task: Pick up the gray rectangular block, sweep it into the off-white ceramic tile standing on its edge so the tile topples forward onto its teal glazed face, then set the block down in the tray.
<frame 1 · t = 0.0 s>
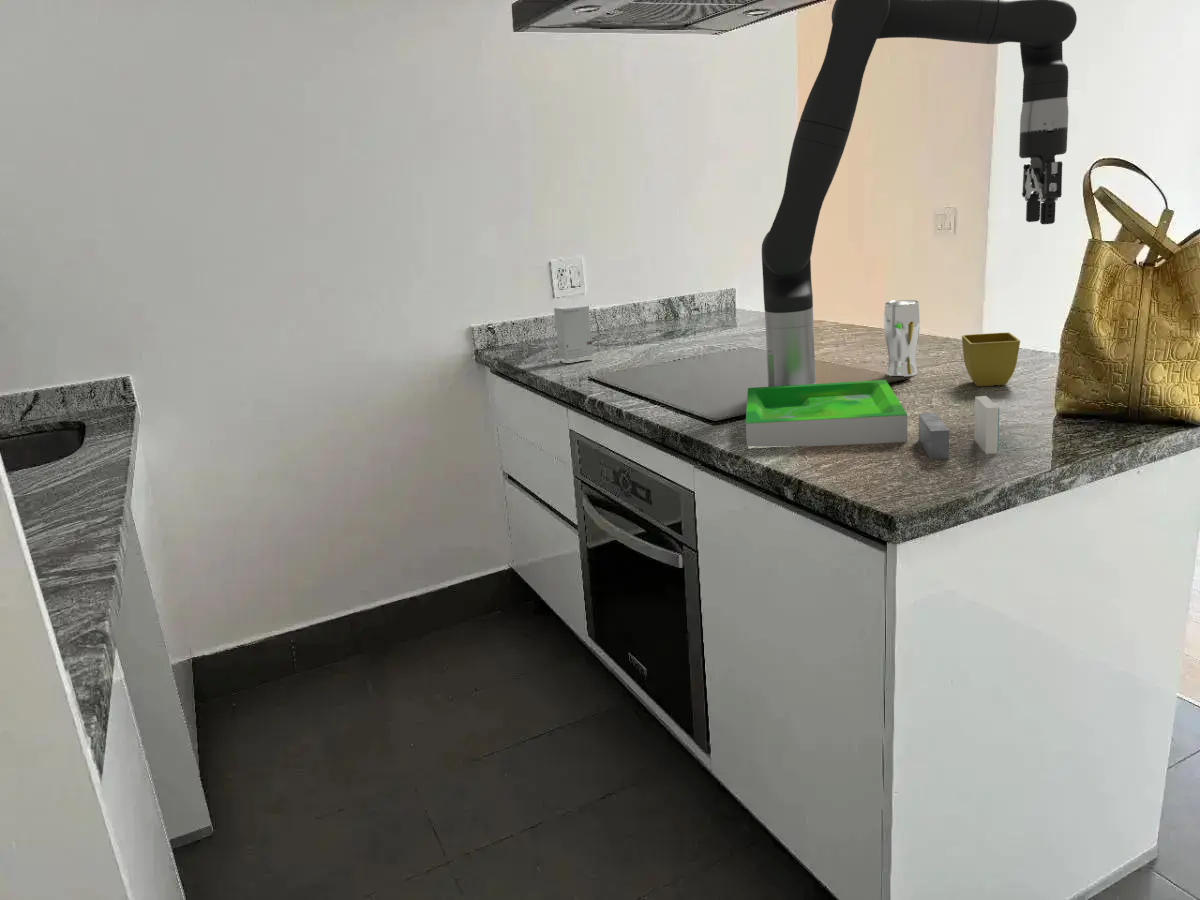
hand: (1039, 222, 157), 29 cm above the worktop, tool pointing down, fingers open, 8 cm apart
tile: (985, 446, 131), on the worktop
beer glass: (902, 375, 181), on the worktop
tray: (820, 428, 151), on the worktop
skincare box: (576, 361, 235), on the worktop
gray rectangular block: (933, 450, 132), on the worktop
flower pot: (989, 384, 167), on the worktop
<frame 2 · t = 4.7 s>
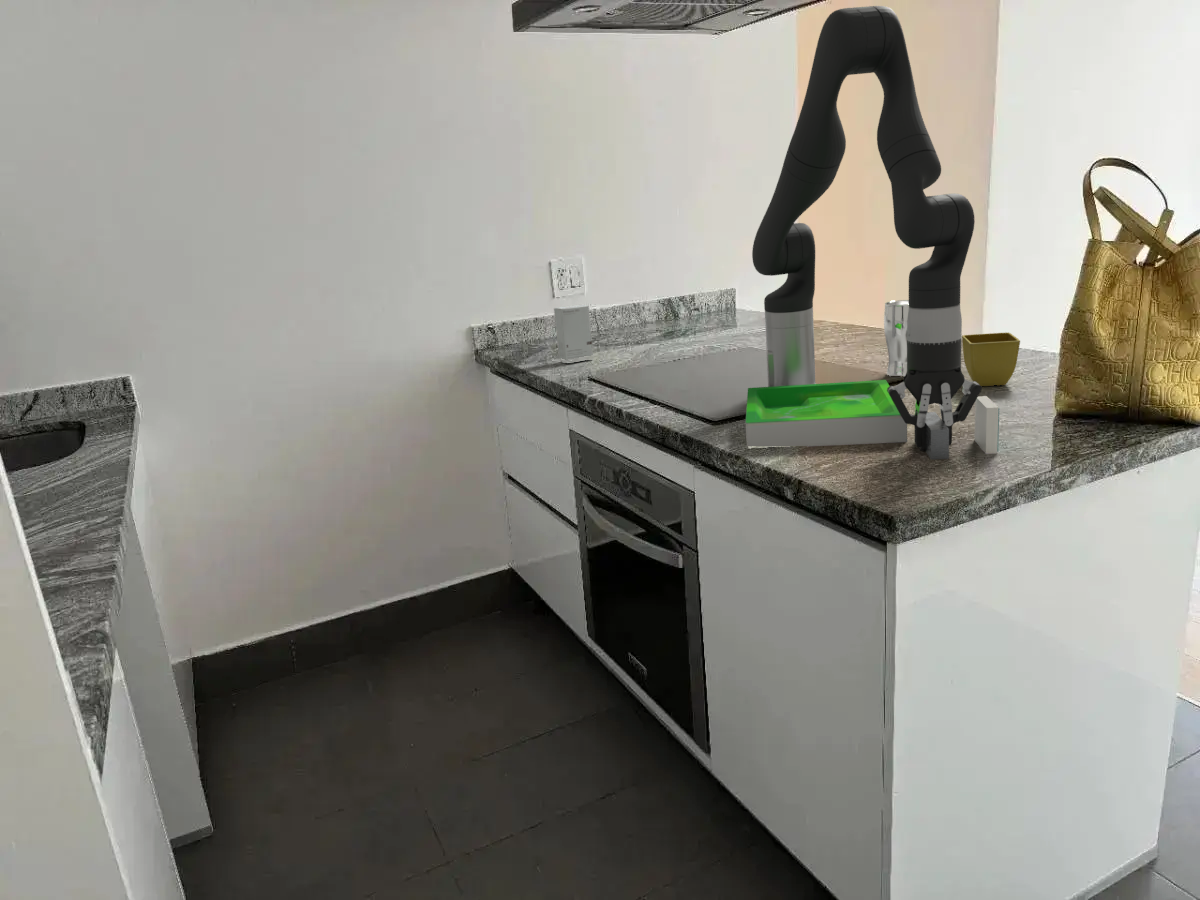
hand: (933, 448, 132), 0 cm above the worktop, tool pointing down, fingers closed on gray rectangular block, 2 cm apart
gray rectangular block: (933, 449, 132), on the worktop, touching gripper
everything else where it was.
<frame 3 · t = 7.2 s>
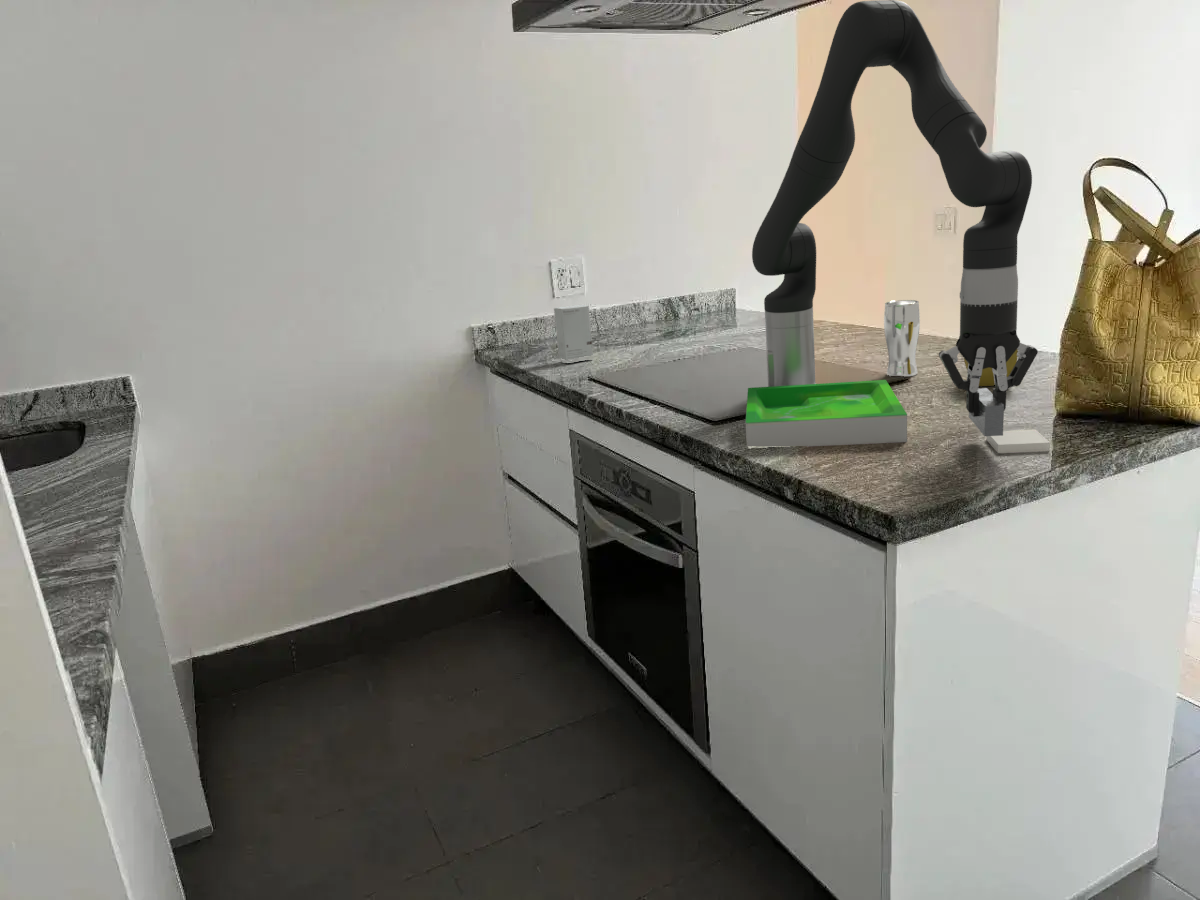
hand: (985, 414, 129), 5 cm above the worktop, tool pointing down, fingers closed on gray rectangular block, 2 cm apart
tile: (992, 443, 130), on the worktop, tilted 90°
gray rectangular block: (985, 425, 130), point 3 cm above the worktop, touching gripper
everything else where it was.
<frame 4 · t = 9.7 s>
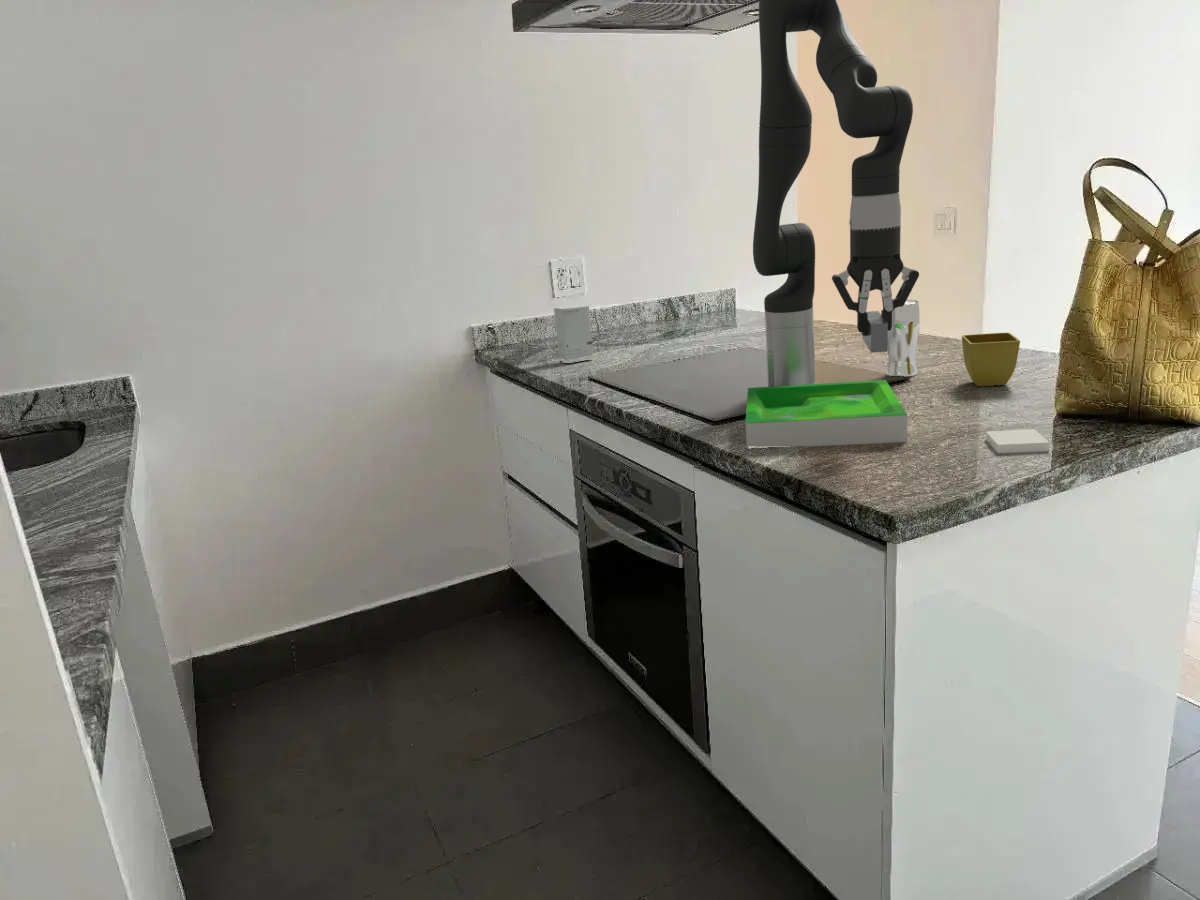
hand: (874, 333, 140), 16 cm above the worktop, tool pointing down, fingers closed on gray rectangular block, 2 cm apart
gray rectangular block: (874, 344, 141), point 14 cm above the worktop, touching gripper
everything else where it was.
when the fingers open (6 cm above the worktop, at t = 11.6 s): gray rectangular block stays where it is, resting on tray.
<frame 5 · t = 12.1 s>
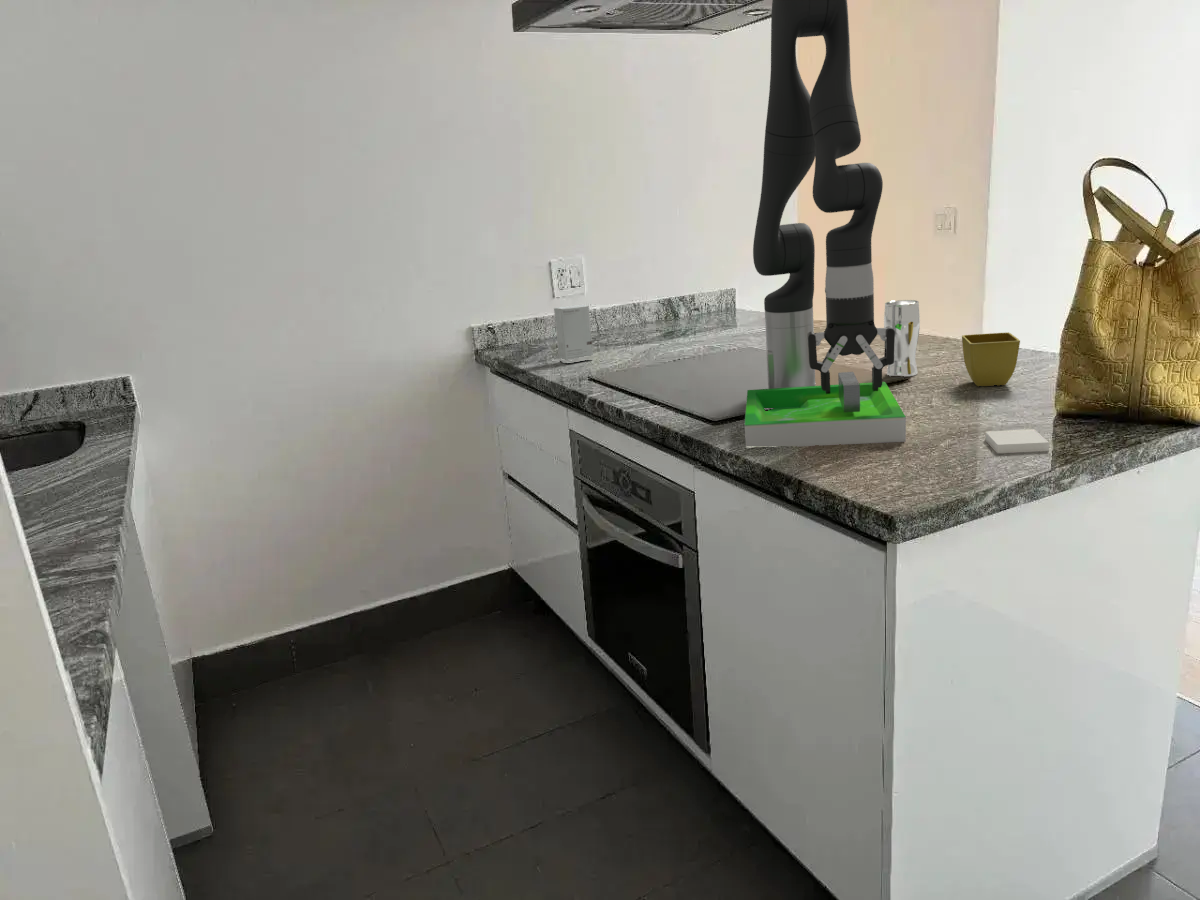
hand: (851, 391, 146), 6 cm above the worktop, tool pointing down, fingers open, 7 cm apart
tray: (820, 430, 152), on the worktop, touching gray rectangular block
gray rectangular block: (849, 404, 147), point 4 cm above the worktop, touching tray
everything else where it was.
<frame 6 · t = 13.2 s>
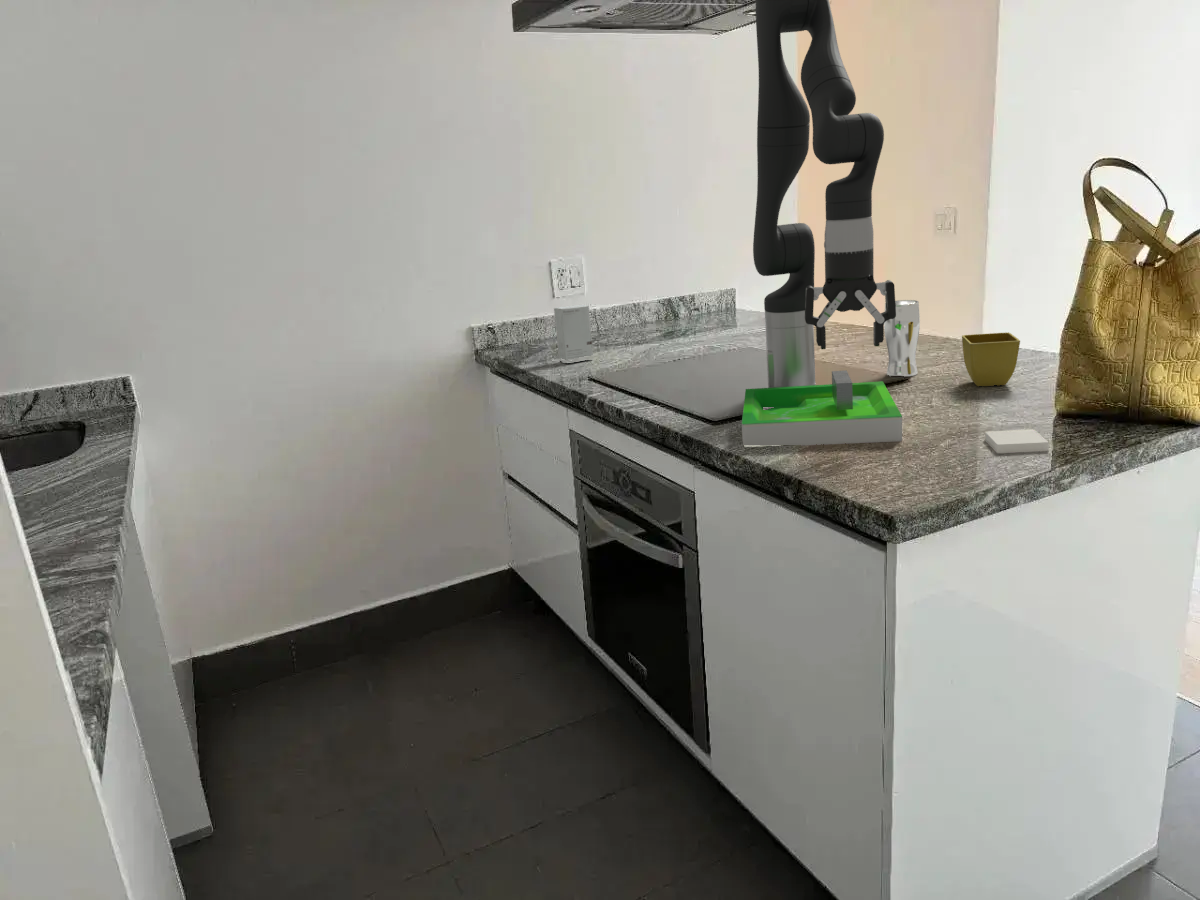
hand: (849, 346, 144), 14 cm above the worktop, tool pointing down, fingers open, 8 cm apart
tray: (817, 430, 152), on the worktop
gray rectangular block: (842, 402, 148), point 4 cm above the worktop
everything else where it was.
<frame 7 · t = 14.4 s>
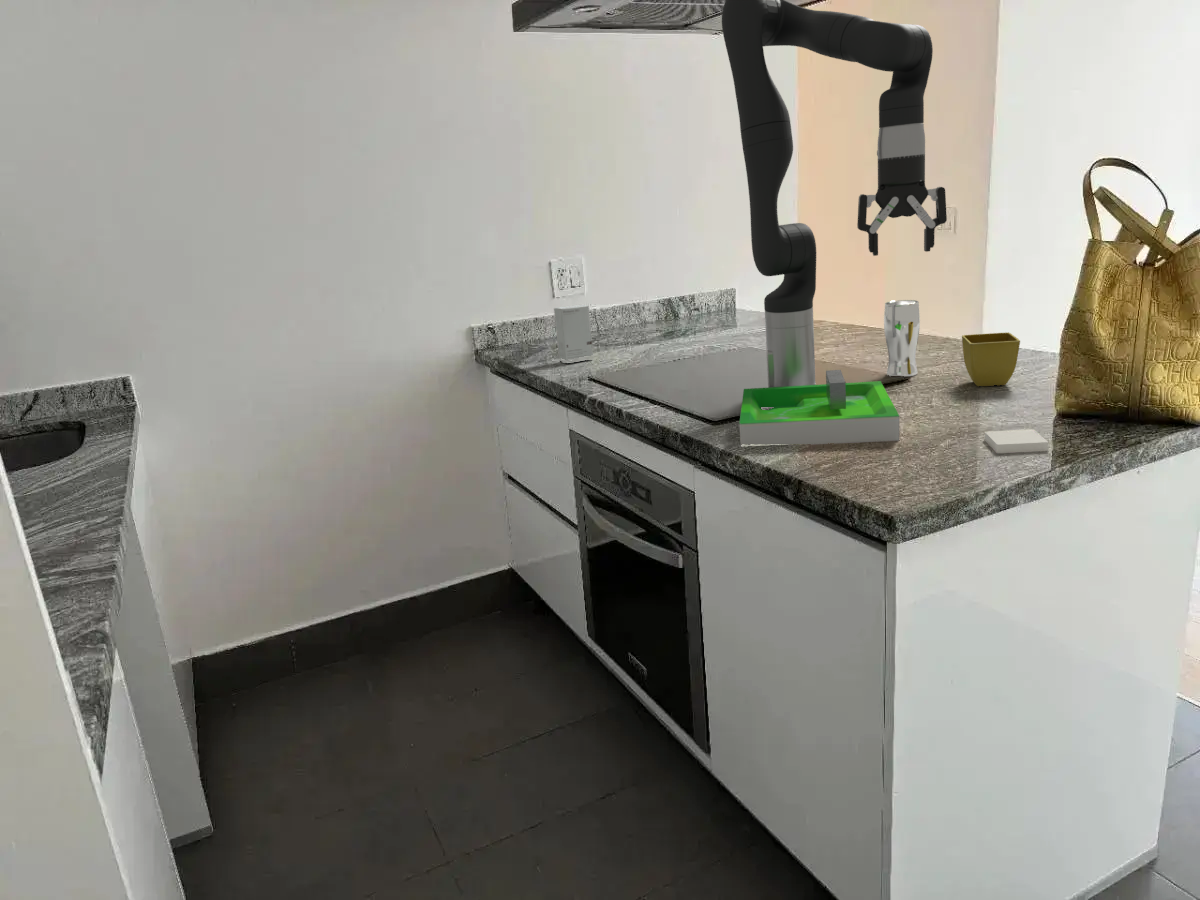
hand: (901, 253, 150), 27 cm above the worktop, tool pointing down, fingers open, 8 cm apart
tray: (815, 429, 153), on the worktop, touching gray rectangular block
gray rectangular block: (835, 401, 149), point 4 cm above the worktop, touching tray
everything else where it was.
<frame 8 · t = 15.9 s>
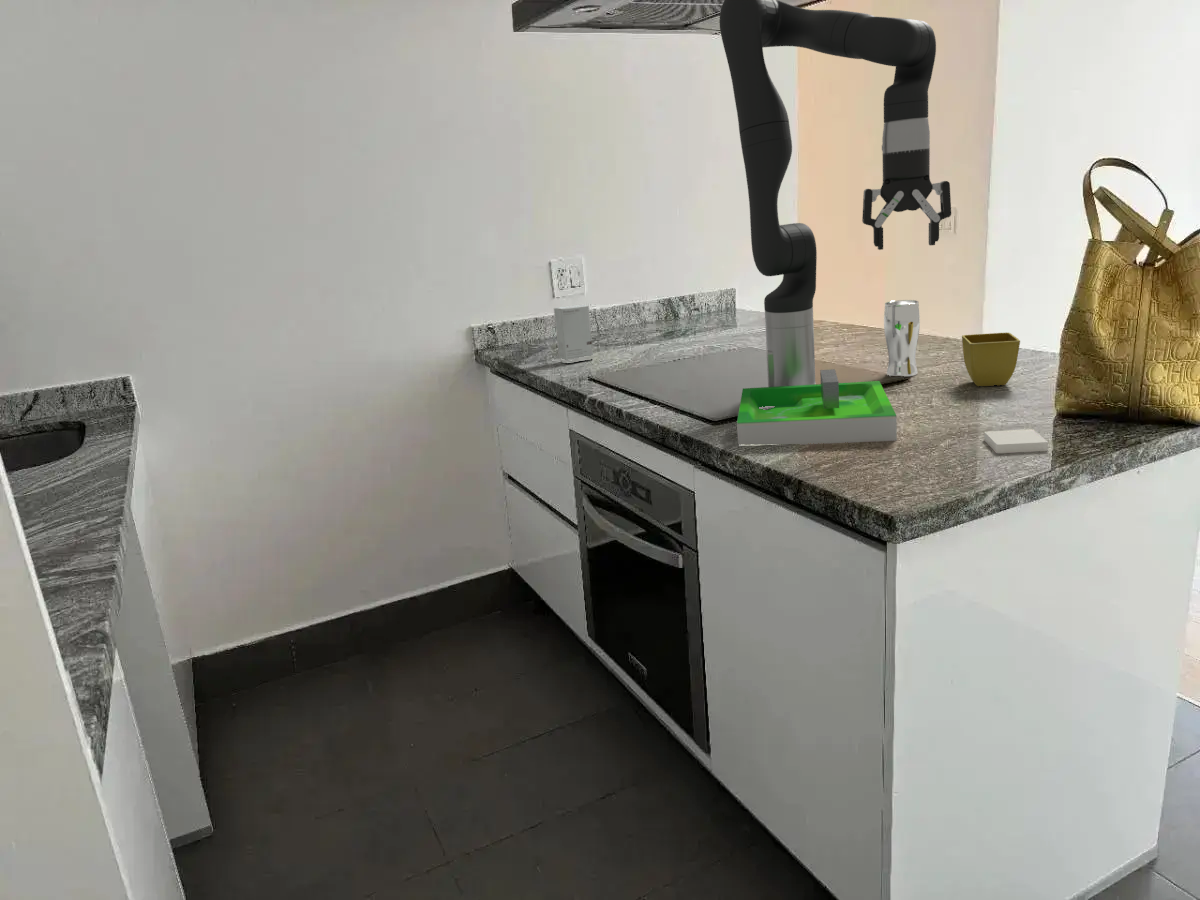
hand: (906, 247, 151), 28 cm above the worktop, tool pointing down, fingers open, 8 cm apart
gray rectangular block: (829, 401, 150), point 4 cm above the worktop, touching tray
everything else where it was.
at the end: tile tilted 90°; gray rectangular block inside the target area on the tray (3.1 cm from its centre), point 5.2 cm above the tray's base; the gripper is holding nothing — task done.
